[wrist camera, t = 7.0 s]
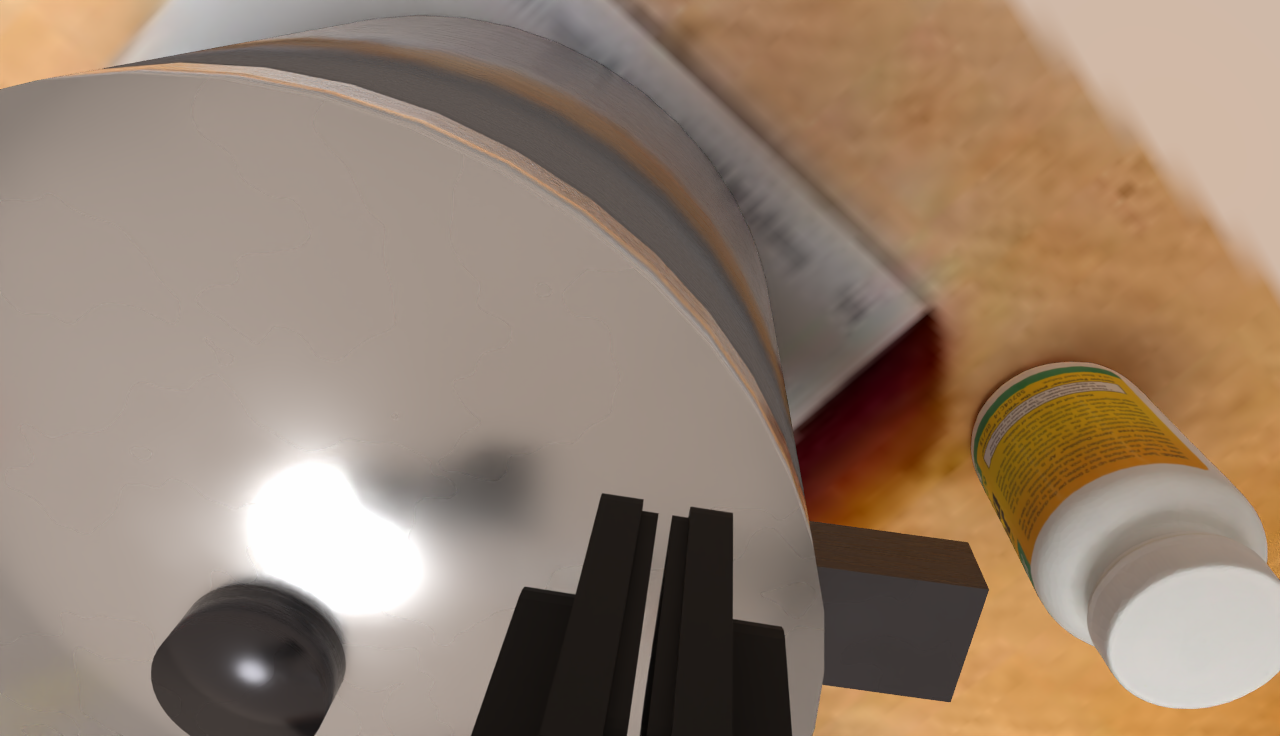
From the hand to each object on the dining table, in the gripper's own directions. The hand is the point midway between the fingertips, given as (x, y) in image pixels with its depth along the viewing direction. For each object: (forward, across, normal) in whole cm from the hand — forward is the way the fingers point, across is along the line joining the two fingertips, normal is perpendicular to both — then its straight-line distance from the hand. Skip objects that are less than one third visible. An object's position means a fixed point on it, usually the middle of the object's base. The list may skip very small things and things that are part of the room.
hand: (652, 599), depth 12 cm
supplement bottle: (+17, -12, +5) cm, 21 cm away
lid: (+4, +7, +5) cm, 9 cm away
